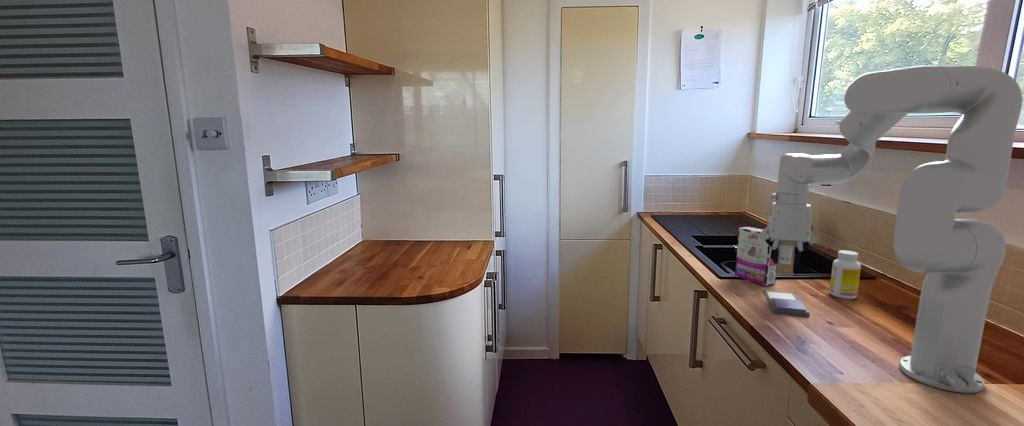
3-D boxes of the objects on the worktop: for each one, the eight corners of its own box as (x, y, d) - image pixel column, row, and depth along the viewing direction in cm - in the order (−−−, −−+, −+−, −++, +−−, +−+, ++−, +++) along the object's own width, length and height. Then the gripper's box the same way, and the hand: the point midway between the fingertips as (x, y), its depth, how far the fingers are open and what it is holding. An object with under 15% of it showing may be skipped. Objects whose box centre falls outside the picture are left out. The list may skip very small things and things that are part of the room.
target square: (800, 304, 132) (800, 303, 132) (768, 300, 134) (768, 299, 134) (794, 294, 139) (794, 293, 139) (763, 291, 142) (763, 290, 142)
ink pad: (808, 316, 123) (809, 311, 123) (774, 313, 126) (774, 307, 126) (801, 305, 131) (802, 299, 130) (768, 302, 133) (769, 296, 133)
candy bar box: (776, 284, 147) (781, 232, 144) (765, 287, 145) (770, 234, 142) (744, 274, 157) (748, 225, 154) (733, 276, 155) (738, 227, 152)
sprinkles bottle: (796, 273, 135) (801, 227, 132) (787, 276, 132) (792, 229, 130) (779, 269, 138) (784, 224, 136) (771, 272, 136) (775, 226, 133)
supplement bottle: (862, 297, 136) (868, 254, 133) (846, 301, 134) (852, 256, 131) (839, 290, 142) (844, 248, 140) (823, 293, 140) (828, 250, 137)
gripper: (759, 199, 130) (753, 264, 134) (831, 202, 125) (822, 269, 129) (755, 195, 137) (749, 256, 141) (823, 198, 132) (815, 261, 136)
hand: (784, 262), depth 135 cm, fingers closed on sprinkles bottle, 4 cm apart
